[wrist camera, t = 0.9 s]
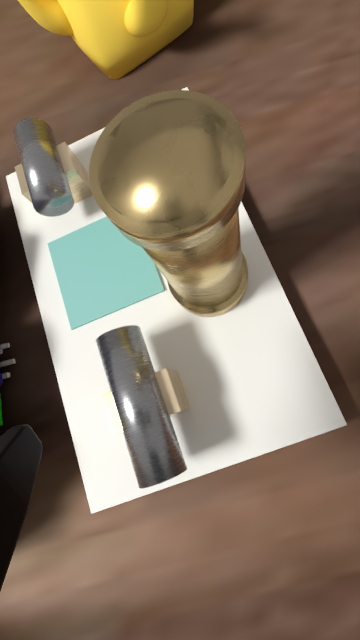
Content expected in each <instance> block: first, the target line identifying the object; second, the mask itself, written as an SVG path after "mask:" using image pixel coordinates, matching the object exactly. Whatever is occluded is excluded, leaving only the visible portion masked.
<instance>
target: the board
mask: <svg viewBox="0 0 360 640" xmlns="http://www.w3.org/2000/svg"><path fill="white" fill-rule="evenodd" d="M182 90H188V88H187V87H186V88H184V89H182ZM188 91H189V90H188ZM104 129H105V128H103V129H101V130H99V131H97V132H95V133H93V134H91V135H89V136H87V137H85V138H83V139H81V140H79V141H77V142H75V143H73V144H71V145H69V148H70V149H71V150H72V152H73V153H74V154H75V156H76V157H77V158H78V160H79V161H80V162H81V164H82V165H83V166H84V168H85V169H86V172H87V175H88V178H89V165H90V159H91V155H92V152H93V149H94V146H95V144H96V142H97V140H98V138H99V136H100V135H101V133H102V131H103V130H104ZM6 179H7V183H8V187H9V191H10V195H11V198H12V202H13V206H14V210H15V214H16V218H17V222H18V226H19V230H20V234H21V238H22V242H23V246H24V250H25V254H26V258H27V262H28V266H29V270H30V274H31V278H32V281H33V285H34V289H35V293H36V297H37V301H38V305H39V309H40V313H41V317H42V321H43V325H44V329H45V333H46V337H47V341H48V345H49V349H50V353H51V357H52V360H53V364H54V368H55V372H56V376H57V380H58V384H59V388H60V392H61V396H62V400H63V404H64V408H65V412H66V416H67V420H68V424H69V428H70V432H71V436H72V440H73V443H74V447H75V451H76V455H77V459H78V463H79V467H80V471H81V475H82V479H83V483H84V487H85V491H86V495H87V499H88V503H89V507H90V511H91V514H92V513H95V512H98V511H101V510H104V509H106V508H109V507H112V506H115V505H118V504H121V503H124V502H127V501H130V500H132V499H135V498H138V497H141V496H144V495H147V494H150V493H153V492H155V491H158V490H161V489H164V488H167V487H170V486H173V485H176V484H179V483H181V482H184V481H187V480H190V479H193V478H196V477H199V476H202V475H204V474H207V473H210V472H213V471H216V470H219V469H222V468H225V467H228V466H230V465H233V464H236V463H239V462H242V461H245V460H248V459H251V458H253V457H256V456H259V455H262V454H265V453H268V452H271V451H274V450H276V449H279V448H282V447H285V446H288V445H291V444H294V443H297V442H300V441H302V440H305V439H308V438H311V437H314V436H317V435H320V434H323V433H325V432H328V431H331V430H334V429H337V428H340V427H343V426H346V425H347V424H346V421H345V419H344V417H343V415H342V413H341V411H340V409H339V407H338V405H337V402H336V400H335V398H334V396H333V394H332V392H331V390H330V388H329V386H328V383H327V381H326V379H325V377H324V375H323V373H322V371H321V369H320V366H319V364H318V362H317V360H316V358H315V356H314V354H313V352H312V350H311V347H310V345H309V343H308V341H307V339H306V337H305V335H304V333H303V331H302V328H301V326H300V324H299V322H298V320H297V318H296V316H295V314H294V312H293V309H292V307H291V305H290V303H289V301H288V299H287V297H286V295H285V293H284V290H283V288H282V286H281V284H280V282H279V280H278V278H277V276H276V274H275V271H274V269H273V267H272V265H271V263H270V261H269V259H268V257H267V255H266V252H265V250H264V248H263V246H262V244H261V242H260V240H259V238H258V236H257V233H256V231H255V229H254V227H253V225H252V223H251V221H250V219H249V217H248V214H247V212H246V210H245V208H244V206H243V204H242V202H241V203H240V205H239V207H238V208H239V223H240V238H241V251H242V253H243V255H244V256H245V259H246V262H247V266H248V285H247V289H246V292H245V295H244V296H243V298H242V300H241V301H240V303H239V304H238V305H237V306H236V307H235V308H233V309H232V310H231V311H229V312H227V313H225V314H223V315H220V316H216V317H200V316H196V315H193V314H191V313H189V312H188V311H186V310H185V309H184V308H183V307H182V306H181V305H180V304H179V303H178V302H177V300H176V299H175V298H174V297H173V295H172V293H171V291H170V289H169V286H168V282H167V280H166V278H165V277H164V276H163V274H162V273H161V272H160V270H159V269H158V268H157V266H156V265H155V264H154V262H153V261H152V260H151V259H150V257H149V256H148V255H147V253H146V252H145V251H144V249H143V248H142V247H140V246H138V245H136V244H134V243H132V242H131V241H129V240H128V239H127V238H126V237H124V236H123V235H122V234H121V233H120V231H119V230H118V229H117V228H116V227H115V225H114V224H113V223H112V222H111V221H110V219H109V218H108V217H107V216H106V215H105V213H104V212H103V211H102V210H101V209H100V207H99V206H98V204H97V202H96V201H95V198H94V196H93V195H92V196H90V197H88V198H86V199H84V200H82V201H80V202H77V203H75V204H74V205H73V207H72V209H71V210H70V211H69V212H67V213H65V214H63V215H60V216H54V217H49V216H44V215H41V214H39V213H38V212H36V211H35V209H34V207H33V204H32V203H31V202H30V201H29V200H28V199H27V198H25V197H24V196H23V195H22V193H21V189H20V185H19V181H18V178H17V174H16V172H14V173H12V174H10V175H8V176H6ZM129 325H137V326H139V327H140V329H141V332H142V335H143V338H144V341H145V344H146V347H147V350H148V353H149V356H150V359H151V362H152V365H153V368H154V371H155V372H157V371H160V370H162V369H165V368H168V369H171V370H175V371H178V374H179V376H180V379H181V382H182V385H183V388H184V391H185V393H186V396H187V399H188V402H189V405H190V407H191V408H190V409H187V410H184V411H182V412H179V413H176V414H174V415H171V416H170V418H171V421H172V424H173V427H174V430H175V433H176V436H177V439H178V442H179V445H180V448H181V451H182V454H183V457H184V460H185V463H186V466H187V470H186V471H185V472H183V473H181V474H180V475H178V476H176V477H174V478H172V479H169V480H167V481H165V482H162V483H160V484H157V485H154V486H151V487H147V488H139V486H138V482H137V479H136V476H135V472H134V469H133V465H132V462H131V459H130V455H129V452H128V448H127V445H126V442H125V438H124V435H123V433H122V434H119V435H116V436H113V435H112V431H111V428H110V424H109V421H108V417H107V414H106V410H105V407H104V403H103V400H102V396H101V393H104V392H106V391H109V390H110V387H109V384H108V380H107V377H106V374H105V370H104V367H103V363H102V360H101V357H100V353H99V350H98V346H97V343H96V339H97V338H98V337H99V336H100V335H102V334H104V333H106V332H108V331H110V330H113V329H116V328H119V327H123V326H129Z"/></svg>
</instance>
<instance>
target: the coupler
mask: <svg viewBox="0 0 360 640" xmlns="http://www.w3.org/2000/svg"><path fill="white" fill-rule="evenodd" d="M245 180H246V177H245V146H244V138H243V134H242V130H241V128H240V125H239V123H238V121H237V120H236V118H235V117H234V115H233V114H232V113H231V112H230V110H229V109H228V108H227V107H225V106H224V105H223V104H222V103H221V102H219V101H217V100H216V99H214V98H212V97H210V96H208V95H205V94H202V93H199V92H194V91H188V90H172V91H164V92H160V93H156V94H152V95H149V96H147V97H144V98H142V99H140V100H138V101H136V102H134V103H132V104H131V105H129V106H128V107H126V108H125V109H124V110H122V111H121V112H120V113H119V114H118V115H116V116H115V117H114V118H113V119H112V120H111V121H110V123H109V124H108V125H107V126H106V127H105V129H104V130H103V131H102V133H101V135H100V136H99V138H98V140H97V142H96V144H95V146H94V149H93V152H92V155H91V159H90V165H89V181H90V187H91V191H92V194H93V196H94V198H95V201H96V202H97V204H98V206H99V207H100V209H101V210H102V211H103V212H104V213H105V215H106V216H107V217H108V218H109V219H110V221H111V222H112V223H113V224H114V225H115V227H116V228H117V229H118V230H119V231H120V233H121V234H122V235H123V236H124V237H126V238H127V239H128V240H129V241H131V242H132V243H134V244H136V245H138V246H140V247H142V248H143V249H144V251H145V252H146V253H147V255H148V256H149V257H150V259H151V260H152V261H153V262H154V264H155V265H156V266H157V268H158V269H159V270H160V272H161V273H162V274H163V276H164V277H165V278H166V280H167V282H168V286H169V289H170V291H171V293H172V295H173V297H174V298H175V299H176V300H177V302H178V303H179V304H180V305H181V306H182V307H183V308H184V309H185V310H186V311H188V312H189V313H191V314H193V315H196V316H200V317H216V316H220V315H223V314H225V313H227V312H229V311H231V310H232V309H233V308H235V307H236V306H237V305H238V304H239V303H240V301H241V300H242V298H243V296H244V295H245V292H246V289H247V285H248V266H247V262H246V259H245V256H244V255H243V253H242V251H241V238H240V223H239V208H238V207H239V205H240V203H241V200H242V198H243V194H244V189H245Z"/></svg>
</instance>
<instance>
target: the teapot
mask: <svg viewBox="0 0 360 640" xmlns="http://www.w3.org/2000/svg"><path fill="white" fill-rule="evenodd" d="M18 1H19V2H20V4H21V5H22V6H23V7H24V8H25V10H26V11H27V12H28V13H29V14H30V15H31V16H32V18H33V19H34V20H35V21H36V22H38V23H39V24H40V25H41V26H42V27H44V28H45V29H47V30H49V31H50V32H52V33H55V34H59V35H70V36H71V37H72V38H73V40H74V41H75V42H76V44H77V45H78V46H79V47H80V49H81V50H82V51H83V52H84V53H85V55H86V56H87V57H88V58H89V59H90V60H91V61H92V62H93V63H94V64H95V65H96V66H97V67H98V68H99V69H100V70H101V71H102V72H103V73H104V74H105V75H106V76H107V77H109V78H110V79H112V80H118V79H120V78H122V77H123V76H125V75H126V74H128V73H129V72H131V71H132V70H134V69H135V68H137V67H138V66H139V65H141V64H142V63H144V62H145V61H146V60H148V59H149V58H151V57H152V56H153V55H155V54H156V53H157V52H159V51H160V50H161V49H163V48H164V47H165V46H167V45H168V44H169V43H171V42H172V41H173V40H174V39H176V38H177V37H178V36H180V35H181V34H182V33H183V32H185V31H186V30H187V29H188V28H189V27H190V26H191V25H192V23H193V12H194V0H18Z"/></svg>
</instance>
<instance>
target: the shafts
mask: <svg viewBox="0 0 360 640" xmlns="http://www.w3.org/2000/svg"><path fill="white" fill-rule="evenodd" d="M14 138H15V141H16V145H17V149H18V152H19V156H20V160H21V164H19V165H17V166H15V170H16V174H17V178H18V181H19V185H20V189H21V193H22V195H23V196H24V197H25V198H27V199H28V200H29V201H30V202H31V203H32V204H33V207H34V209H35V211H36V212H38V213H39V214H41V215H44V216H49V217H54V216H60V215H63V214H65V213H67V212H69V211H70V210H71V209H72V207H73V205H74V204H75V203H77V202H80V201H82V200H84V199H86V198H88V197H90V196H92V195H93V194H92V191H91V187H90V181H89V178H88V175H87V172H86V169H85V168H84V166H83V165H82V164H81V162H80V161H79V160H78V158H77V157H76V156H75V154H74V153H73V152H72V150H71V149H70V148H69V146H68V145H67V144H66V142H64V143H62V144H60V145H57V144H56V141H55V138H54V135H53V132H52V129H51V127H50V126H49V125H48V124H47V123H46V122H44V121H42V120H40V119H36V118H27V119H24V120H21V121H20V122H18V123H17V125H16V126H15V128H14ZM96 343H97V346H98V350H99V353H100V357H101V360H102V363H103V367H104V370H105V374H106V377H107V380H108V384H109V387H110V390H109V391H106V392H104V393H101V396H102V400H103V403H104V407H105V410H106V414H107V417H108V421H109V424H110V428H111V431H112V435H113V436H116V435H119V434H122V433H123V435H124V438H125V442H126V445H127V448H128V452H129V455H130V459H131V462H132V465H133V469H134V472H135V476H136V479H137V482H138V486H139V488H147V487H151V486H154V485H157V484H160V483H162V482H165V481H167V480H169V479H172V478H174V477H176V476H178V475H180V474H181V473H183V472H185V471H186V470H187V466H186V463H185V460H184V457H183V454H182V451H181V448H180V445H179V442H178V439H177V436H176V433H175V430H174V427H173V424H172V421H171V418H170V416H171V415H174V414H176V413H179V412H182V411H184V410H187V409H190V408H191V407H190V405H189V402H188V399H187V396H186V393H185V391H184V388H183V385H182V382H181V379H180V376H179V374H178V371H175V370H171V369H168V368H165V369H162V370H160V371H157V372H155V371H154V368H153V365H152V362H151V359H150V356H149V353H148V350H147V347H146V344H145V341H144V338H143V335H142V332H141V329H140V327H139V326H137V325H129V326H123V327H119V328H116V329H113V330H110V331H108V332H106V333H104V334H102V335H100V336H99V337H98V338H97V339H96Z"/></svg>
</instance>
